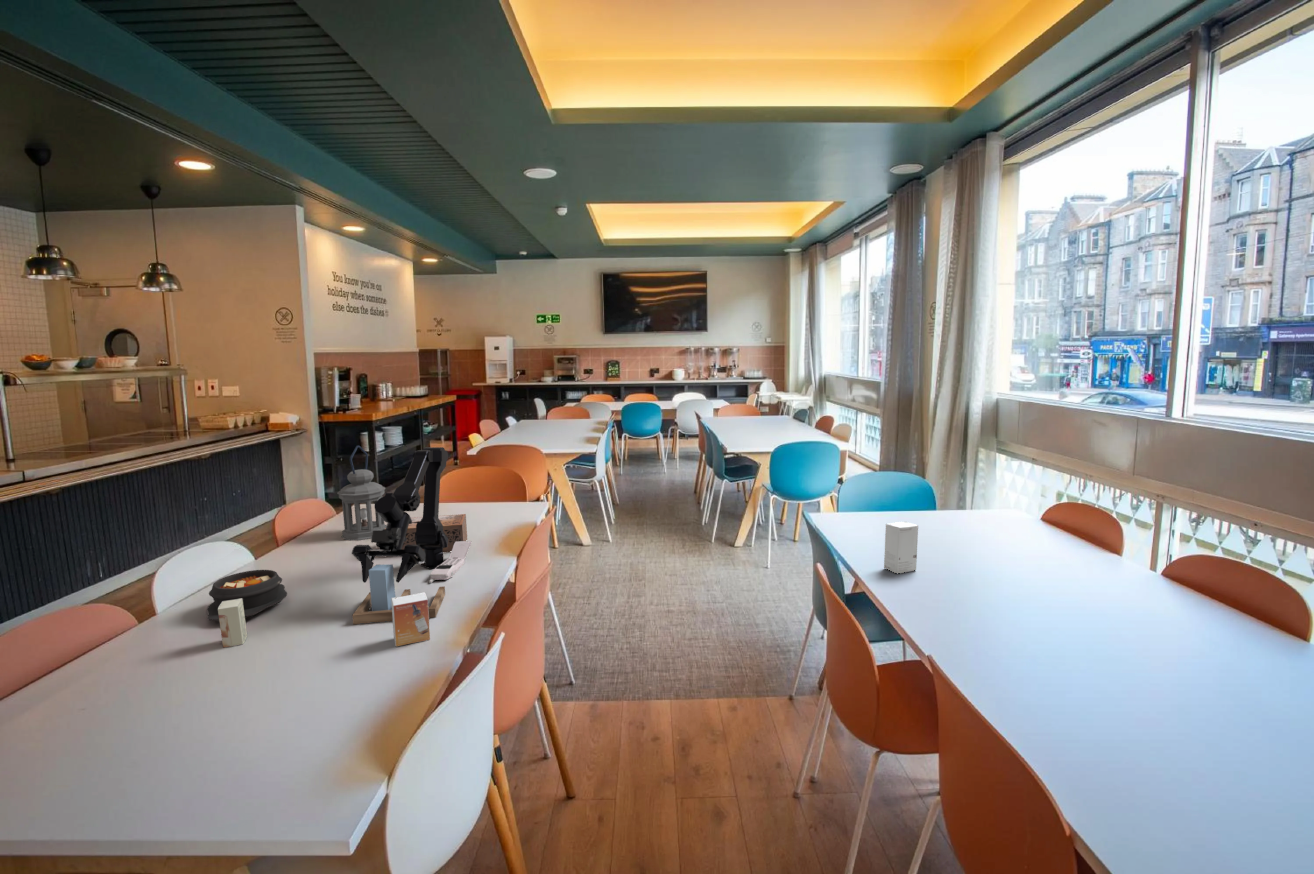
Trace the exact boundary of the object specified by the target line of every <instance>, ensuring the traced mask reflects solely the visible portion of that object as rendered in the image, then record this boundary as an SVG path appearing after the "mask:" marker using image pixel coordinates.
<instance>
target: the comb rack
mask: <svg viewBox="0 0 1314 874" xmlns="http://www.w3.org/2000/svg"><path fill="white" fill-rule="evenodd" d="M408 595H412V594H411V589H410V588H407V589H404V590H403V592H402V593H401V595H400V597H402V596H408ZM445 597H446V587H445V586H439V587H438V589H437V591H436V593H435V595H434V598H433V600H432V602H431V603H430V606H428V611H429V619H432V618H437V615H438V613H439V610H440V608H441V605H442V603H443V601H444V599H445ZM370 609H372V605H371V593H370V591H369V592H368V594H367V595H366V596H365V598H364V599H363V600H362V601H361V603H360V604H359V606H358V607H357V608H356V610H355V611H354V612H353V614H352V625H361V624H360V623H364V624H371V623H370V622H375V623H383V622H384V623H385V621H387V622H393V617H392V610H383V611H372V610H371V611H370Z"/></svg>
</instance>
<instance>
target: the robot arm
mask: <svg viewBox="0 0 1314 874" xmlns="http://www.w3.org/2000/svg"><path fill="white" fill-rule="evenodd" d="M448 459H449V452H448V450H446V449H445V447H442V446H441V447H440V446H439V447H437V446H436V447H435V446H434V447H432V446H431V447H429V446H427V447H425V446H424V447H423V449H421V450H420V449H419V450H418V449H417V450H414V452H413V459H412V460H411V464H410V466H409V468H408V470H407V473H406V475H405V478H404V480H403V482H402V484H401V485H399V486H397V487H396V488H395V489H394V491H393V492H385V493H384V494H385V495H383V496H382V498H380V499H379V500H378V501H377V502H376V503H374V511H375V510H376V511H377V513H378V514H379V515H380V516H381V518H382V519H383V520H384V523H385V522H386V523H387V524H386V525H387V526H386V529H383V530H382V531H372V539H370V543H375V546H376V547H377V548H379V549H376V548H374V549H373V548H372V547H371V546H370V544H356V545H355V546H353V548H352V551H351V555H352V556H354V558H355V559H356V560H357V561H359V562H360V565H361V575H362V578H361V580H362V582H363V583H367V581H368V580H369V570H370V569H371V568H373V567H374V563H375V562H374V561H375V558H376V557H386V556H396V557H401V563H400V565H399V568H398V572H397V575H396V579H395V582H396V583H397V584H398V583H399V582H400V581H402V579H404V577H405V576H406V575H407V573H408V572H409V571H411V570H412V569H413V568H414V567H415V566H417V565H420V566H421V567H424V568H426V569H429V570H434V569H435V568H436V567H437V566H439V565H441V564H442V563H443V562H444V561H445V559H444V553H443V548H446V547H448V537H447V536H446V535H445V533H444V532H443V525H442V523H441V522H440V520H439V518H438V516H439V512H440V511H439V509H440V493H441V492H440V491H441V489H440V488H441V475H442V473H443V471H444V470H445V469H446V468H447V461H448ZM423 479H424V480H423ZM423 481H424V489H423V509H422V517H423V518H422V519H421V521H420V522H419V523H417V525H416V533H415V541H416V545H406V546H405V548H404V549H402V546H403V543H404V542H406V540H407V538H406V537H405V536H406V532H407V529H408V526H409V524H412V520H411V518H412V517H411V515H410V514H409V513H408V512H415V511H417V510H418V508H419V506H420V503H421V495H420V493H419V490H420V487H421V486H422V483H423ZM423 549H424V551H423Z"/></svg>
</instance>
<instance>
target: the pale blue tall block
mask: <svg viewBox="0 0 1314 874" xmlns="http://www.w3.org/2000/svg"><path fill="white" fill-rule="evenodd" d="M368 581H369V590H370V591H369V592H370V593H371V605H372V606H371V611H383V610H392V602H391V598H395V597H396V589H395V587H396V586H395V575H394V564H376V565H373V567H372V568H371V569H370V570H369V577H368Z"/></svg>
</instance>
